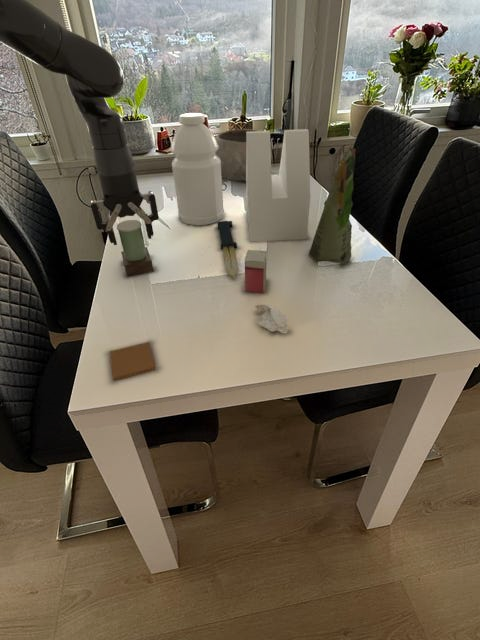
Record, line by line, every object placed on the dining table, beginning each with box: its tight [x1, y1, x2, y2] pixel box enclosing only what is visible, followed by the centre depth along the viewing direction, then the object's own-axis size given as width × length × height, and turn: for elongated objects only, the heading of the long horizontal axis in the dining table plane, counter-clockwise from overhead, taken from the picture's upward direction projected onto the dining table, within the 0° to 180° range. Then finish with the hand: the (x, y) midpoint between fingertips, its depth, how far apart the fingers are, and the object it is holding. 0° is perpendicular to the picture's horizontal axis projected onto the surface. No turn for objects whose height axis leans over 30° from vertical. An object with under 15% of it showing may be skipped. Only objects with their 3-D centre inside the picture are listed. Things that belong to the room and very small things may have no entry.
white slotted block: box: [245, 128, 311, 242], centre depth 101 cm, size 19×15×25 cm
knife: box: [216, 220, 239, 279], centre depth 97 cm, size 4×2×30 cm
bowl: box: [215, 128, 274, 182], centre depth 141 cm, size 23×23×15 cm
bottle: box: [170, 112, 225, 226], centre depth 107 cm, size 14×14×28 cm
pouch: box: [308, 146, 357, 266], centre depth 85 cm, size 11×12×25 cm
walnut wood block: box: [120, 246, 155, 277], centre depth 91 cm, size 6×8×3 cm
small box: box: [244, 249, 268, 294], centre depth 81 cm, size 5×4×8 cm
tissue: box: [254, 304, 289, 334], centre depth 72 cm, size 6×8×4 cm
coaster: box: [109, 341, 156, 381], centre depth 66 cm, size 7×7×1 cm
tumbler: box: [115, 219, 147, 261], centre depth 88 cm, size 6×6×8 cm
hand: (132, 240), depth 88 cm, fingers open, 7 cm apart
